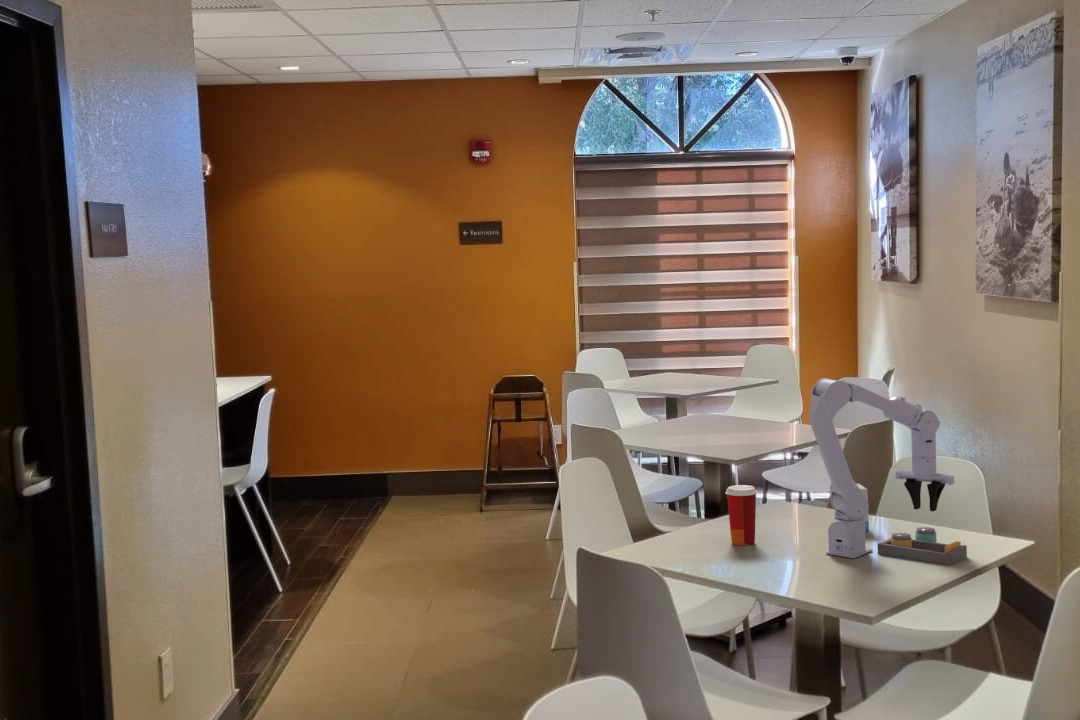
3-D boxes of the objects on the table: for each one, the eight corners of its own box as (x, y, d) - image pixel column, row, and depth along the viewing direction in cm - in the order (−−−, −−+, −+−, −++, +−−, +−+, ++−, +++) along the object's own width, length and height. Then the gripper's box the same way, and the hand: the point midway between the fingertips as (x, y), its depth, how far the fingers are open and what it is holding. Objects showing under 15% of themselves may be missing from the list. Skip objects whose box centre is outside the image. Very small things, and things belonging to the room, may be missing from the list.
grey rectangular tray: (950, 565, 238) (950, 552, 238) (877, 553, 252) (877, 541, 252) (967, 557, 245) (966, 545, 244) (895, 546, 258) (895, 534, 258)
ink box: (869, 531, 275) (868, 488, 275) (851, 531, 275) (850, 489, 275) (860, 524, 284) (859, 482, 283) (842, 525, 284) (841, 483, 283)
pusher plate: (949, 563, 240) (948, 547, 240) (945, 562, 241) (944, 546, 241) (961, 557, 244) (960, 541, 244) (956, 557, 245) (956, 541, 245)
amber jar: (906, 556, 249) (906, 538, 248) (887, 553, 252) (886, 535, 252) (916, 552, 252) (915, 534, 252) (897, 549, 256) (896, 531, 255)
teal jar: (931, 550, 253) (930, 532, 253) (912, 547, 257) (911, 529, 257) (940, 546, 257) (939, 528, 256) (921, 543, 260) (920, 525, 260)
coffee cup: (757, 539, 272) (755, 484, 271) (760, 546, 264) (758, 489, 263) (725, 539, 273) (723, 485, 272) (728, 547, 265) (726, 490, 264)
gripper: (959, 456, 253) (960, 510, 254) (904, 452, 263) (905, 503, 264) (946, 460, 248) (947, 515, 249) (891, 456, 259) (892, 508, 259)
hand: (925, 509), depth 256 cm, fingers open, 4 cm apart
